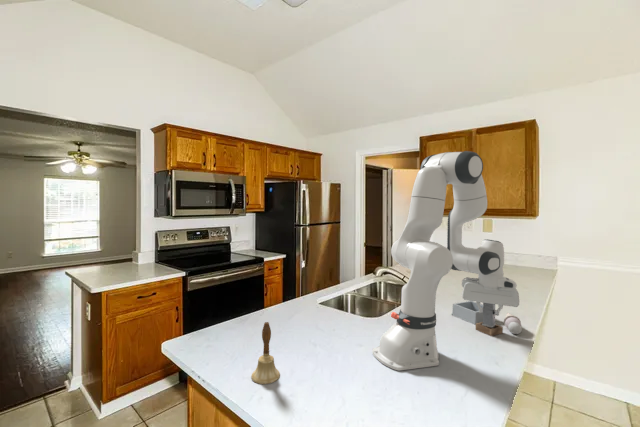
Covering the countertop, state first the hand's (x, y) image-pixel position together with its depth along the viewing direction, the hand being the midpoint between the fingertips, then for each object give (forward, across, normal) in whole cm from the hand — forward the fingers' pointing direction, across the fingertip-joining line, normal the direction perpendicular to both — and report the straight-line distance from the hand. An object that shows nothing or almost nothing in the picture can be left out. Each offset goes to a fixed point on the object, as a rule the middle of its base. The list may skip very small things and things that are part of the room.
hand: (488, 313), depth 126 cm
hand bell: (+8, -62, -66) cm, 91 cm away
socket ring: (+7, 0, 0) cm, 7 cm away
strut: (+5, 0, 0) cm, 5 cm away
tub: (+7, -5, +14) cm, 17 cm away
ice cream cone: (+7, +9, +7) cm, 14 cm away
